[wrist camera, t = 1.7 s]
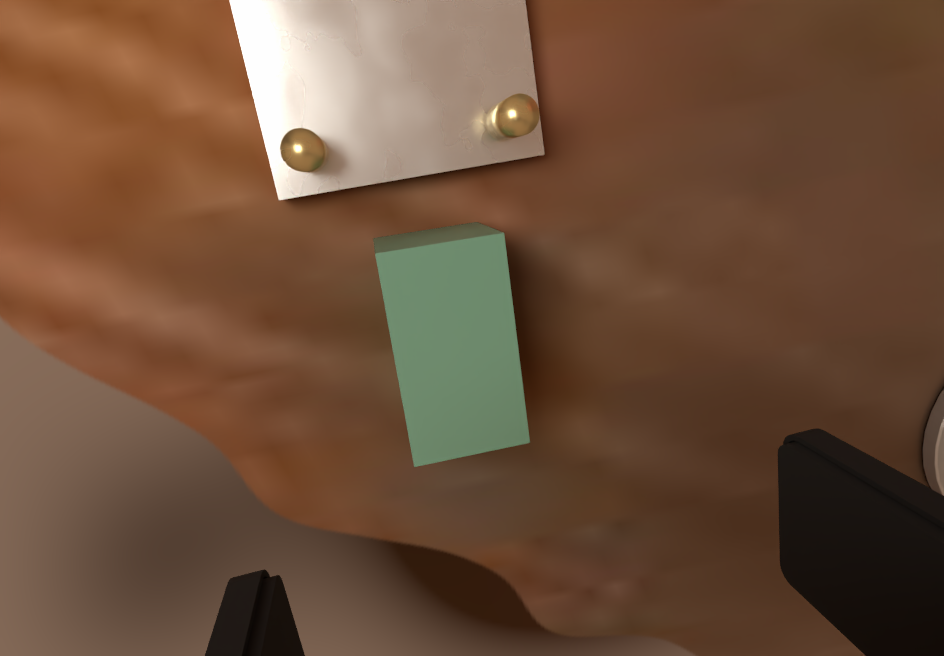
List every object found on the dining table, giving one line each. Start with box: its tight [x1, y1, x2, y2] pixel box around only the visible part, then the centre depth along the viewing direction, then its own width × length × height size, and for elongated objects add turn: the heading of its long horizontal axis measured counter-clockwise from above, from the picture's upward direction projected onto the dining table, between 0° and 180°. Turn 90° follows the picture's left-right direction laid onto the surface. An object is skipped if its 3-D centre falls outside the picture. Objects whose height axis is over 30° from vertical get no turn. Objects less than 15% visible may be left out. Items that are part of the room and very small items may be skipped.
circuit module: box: [373, 222, 530, 467], centre depth 27 cm, size 9×5×6 cm, turn 8°
